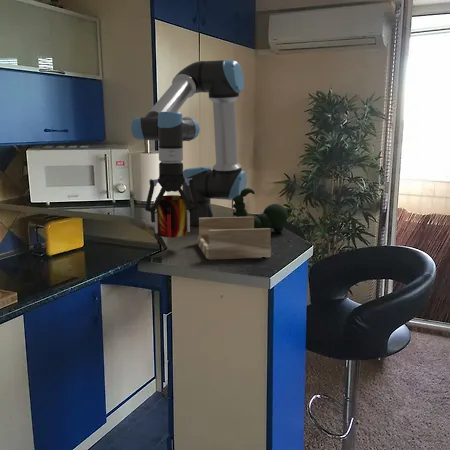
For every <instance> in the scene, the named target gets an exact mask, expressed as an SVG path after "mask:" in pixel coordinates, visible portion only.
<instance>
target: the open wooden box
mask: <svg viewBox="0 0 450 450" xmlns="http://www.w3.org/2000/svg"><path fill="white" fill-rule="evenodd" d="M271 229H272V228H271ZM271 229H270V228H261V229H254V216H249V217H236V216H228V217H227V216H224V217H223V216H219V217H215V216H214V218H199V225H198V235H197V245H198V247H199V249H200V250H201V252H202V254H203V255H204V256H205V258H206V259H208V260H209V261H210V260H228V259H229V260H231V259H235V260H236V259H262V257H265V258H271V257H272V247H271V234H272V230H271Z"/></svg>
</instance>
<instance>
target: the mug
mask: <svg viewBox="0 0 450 450" xmlns="http://www.w3.org/2000/svg"><path fill="white" fill-rule="evenodd" d="M156 198H157V196H156V197H155V199H156ZM156 211H157V223H158V233H156V234H157V236H158V237H160V238H180V237H184V236H186V235H187V222H186V204H185V202H184V200H183V198H182V197H181V195H180V194H178V195H176V194H171V195H170V194H169V195H166V194H165V195H163V197H162V199H161V201H160V203H159V205H158V206H157V208H156V210H155V212H156Z"/></svg>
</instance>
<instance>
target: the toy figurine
mask: <svg viewBox="0 0 450 450" xmlns="http://www.w3.org/2000/svg"><path fill="white" fill-rule="evenodd" d="M249 194H252V195H255V190H253V189H252V188H249V187H248V188H247V187H246V189H243V190H242V191H241V193H240V195H237V196H235V198H233V200H232V201H233V202H234V203H233V204H232V208H233V209H235V211H233V213H232V215H233V217H250V216H249V215H248V212H247V211H248V210H247V209H246V203H245V202H244V199H245V197H246V196H248V195H249ZM292 210H293V208H292V207H284V205H282V204H280V203H279V204H278V203H272V204H269V205H267V206H266V207H265V208H264V210H263V212H262V213H260V214H258V215H256V217H254V216H253V217H254V229H261V228H270V229H271V231H272V229H273V231H274V232H276V233H281V232H283V231H284V228H283V227H284V226H285V225H287V224H288V215H289V213H290V212H291V211H292Z"/></svg>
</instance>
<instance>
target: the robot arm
mask: <svg viewBox="0 0 450 450" xmlns="http://www.w3.org/2000/svg"><path fill="white" fill-rule="evenodd" d="M244 77H245V76H244V73H243V69H242V67H241V65H240V63H239V62H238V61H236V60H234V59H233V60H230V59H222V60H221V59H220V60H199V61H195V62H192V63H191V64H188V65H187V66H185V67H184V68H182V69H181V70H180V71H179V72H178V73H177V74H176V75H175V76H174V77H173V78H172V81H171V84H170V86H169V87H168V89H167V90H165V92H164V93H163V94H162V96H161V97H160V98H159V99H158V100H157V102H155V104H154V105H153V107H152V108H150V110H149V111H148V112H147V113H146V114H145V115H144V117H143V116H138V117H135V118H133V119H132V121H131V124H130V131H131V135H132V136H133V138H134V139H135V140H138V141H139V140H141V141H158V161H160V162H159V163H158V177H157V179H152V178H151V179H149V190H148V193H147V198H146V202H145V206H144V210H145V211H146V212H150V222H151V224H152V223H154V233H155V234H157V233H158V223H157V211H156V208H157V206H158V205H159V203H160V201H161V199H162V197H163V196H165V195H166V192H167V193H169V192H174V193H175V192H178V194H179V195H180V196H181V197H182V198H183V200H184V202H185V204H186V222H187V232H188V233H190V232H191V226H199V218H214V217H215V215H214V212H213V209H212V205H211V199H213V200H214V199H215V200H228V201H233V198H235V196H237V195H240V193H241V191H242V190H243V189H246V188H247V182H248V175H247V172H246V171H244V170H242V165H241V164H240V163H239V162H238V138H237V115H236V114H237V112H236V111H237V108H236V101H237V99H239V97H240V93H241V92H243V90H244V87H245V86H244V84H245V78H244ZM199 93H200V94H201V93H208V99H209V100H210V101H211V102H212V107H213V112H212V113H213V131H214V147H215V148H214V149H215V150H214V151H215V164H214V165H213V166H212V167H211V166H209V165H208V166H206V165H205V166H198V167H190V168H185V169H184V163H183V162H182V161H184V147H183V146H184V145H183V144H184V142H190V141H192V140H195V139H196V138H197V137H198V136H199V134H200V129H201V128H200V124H199V122H198V121H197V120H196V119H194V118H193V117H190V116H188V117H187V116H186V117H183V113H182V112H181V111H179V110H180V109H181V107H182V106H183V105H184V103H185V102H186V101H187V100H188V99H189V98H191V97H194V95H195V94H199ZM157 184H159V185H160V186H161V188H160V190H159V193H158V195H157V196H156V197H157V198H156V197H155V200H154V202H153V203H152V204H151V202H152V199H153V195H154V191H155V187H157ZM151 205H152V206H151Z"/></svg>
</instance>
